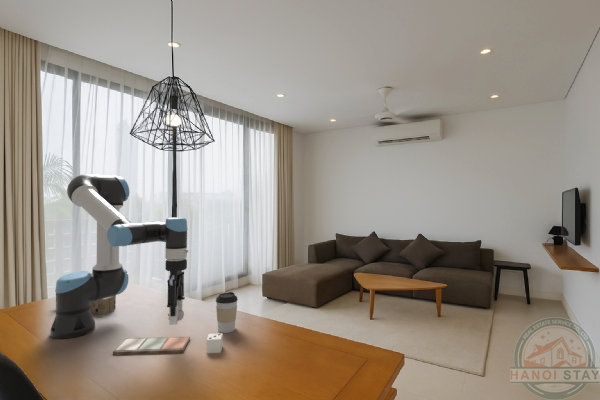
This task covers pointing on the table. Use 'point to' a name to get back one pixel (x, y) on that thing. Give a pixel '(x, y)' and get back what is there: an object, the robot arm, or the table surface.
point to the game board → (152, 345)
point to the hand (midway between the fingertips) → (176, 320)
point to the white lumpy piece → (179, 311)
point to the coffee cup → (226, 312)
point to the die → (214, 343)
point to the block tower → (103, 305)
